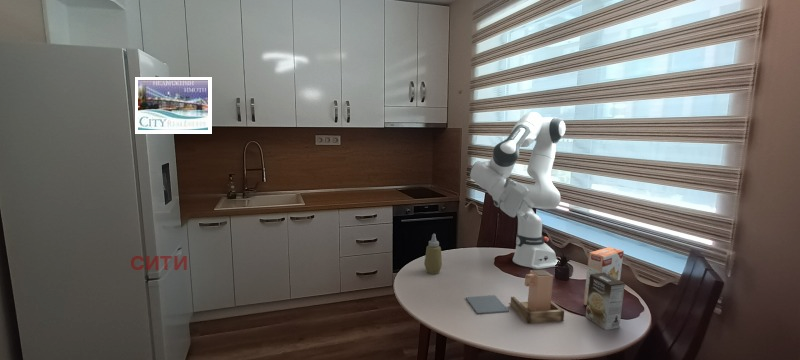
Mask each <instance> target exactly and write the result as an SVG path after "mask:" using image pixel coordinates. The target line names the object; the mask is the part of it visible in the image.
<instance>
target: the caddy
mask: <svg viewBox="0 0 800 360" xmlns="http://www.w3.org/2000/svg"><path fill="white" fill-rule="evenodd" d="M508 305H509V306H510V307H511V308H513V310H514V311H515V312H516V313H517V314H518V315H519V316H520V317H521V318H522V319H523V321H525V322H526V323H527V324H535V323H537V324H539V323H549V322H563V321H564V319H565V310H564V309H562V308H561V307H560V306H559V305H558V304H556V303H555V302H554V301H553V300H551V308H550V310H547V311H534V312H531V311H530V310H529V309H528V308H527V307H528V301H523V302H522V301H521V302H520V301H519V300H518V299H517V298H516V297H515V296H511V297H510V302H509V303H508Z"/></svg>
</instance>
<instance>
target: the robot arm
mask: <svg viewBox="0 0 800 360" xmlns="http://www.w3.org/2000/svg"><path fill="white" fill-rule="evenodd" d="M565 133H566V122H565V121H564V119H563V118H561V117H542V115H541V114H540V113H538V112H535V111H529V112H526V113H525V114H524V115H523V116H521V118H520V119H519V120H517V122H516V124H515V125H514V126H513V128H512V129H511V132H510V134H509V135H508V137H507V138H506V139H504V140H503V141H501V142H499V143H497V144H496V145H495V146H494V148H493V152H492V156H491V158H490V160H487V161H479V160H476V162H475V163H474V164H473V165H472V167H471V168H470V172H469V176H470V179H471V180H472V181H473V182H474V183H476V184H477V185H478V186H479V187H480V188H481V189H483V190H486V192H488V195H489V196H491V197H492V200H493V205H494V206H495V207H497V208H500V210H501V211H502V212H504V213H505V214H506V215H508V216H509V217H511V218H515V217H516V216H517V232H516V240H515V244H516V245H515V246H516V247H515V251H514V255H513V257H512V262H513V263H514V264H516V265H519V266H521V267H527V268H531V269H533V270H543V269H546V268H547V269H548V268H554V267H556V266H555V265H556V264H557V262H558V261H559V260H558V259H557V256H556V252H555V250H554V249H552V248H551V246H549V245H548V244H547V243H545V242H549V240H550V239H549V237H547V236H544V235H543V234H542V233H543V220H542V218H541V217H540V216H539V215H538V214H536V213H535V211H534V210H533V208H535V209H542V210H552V209H553V210H554V209H556V208H557V207H558V206H559V205H560V203H561V199H562V197H561V193H560V191H559V190H558V189H557V187H556V186H555V185H554V184H553V181H552V171H553V166H554V162H555V158H556V150H557V149H556V147H557V146H556V144H558V143H559V142H560V140H561V139H562V138H563V137H564V135H565ZM534 142H535V144H534V146H533V148H532V151H531V154H530V157H529V161H528V165H527V168H526V172H527V175H528V176H529V177H530V178H532V179H533V180H534V181H535V183H533V184H532V183H524V182H518V181H516V180H512V179H511V178H510V176H511V173H512V172H513V169H514V167H515V164H516V162H517V160H518V158H519V156H520V148H528V147H529V146H531V144H532V143H534Z"/></svg>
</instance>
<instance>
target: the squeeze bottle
mask: <svg viewBox="0 0 800 360" xmlns="http://www.w3.org/2000/svg"><path fill="white" fill-rule="evenodd" d="M425 250H426V251H425V256H424V267H425V271H426V273H427V274H430V275H437V274H439V273H440V271H441V269H442V267H443V259H442V248H441V246H440V242H439V240H437V236H436V233H432V235H431V240H429V241H428V245H427V246H426V249H425Z"/></svg>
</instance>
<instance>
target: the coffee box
mask: <svg viewBox="0 0 800 360" xmlns="http://www.w3.org/2000/svg"><path fill="white" fill-rule="evenodd" d="M625 287H626V286H625V282H624V281H623V280H622V281H621V279H620V280H618V279H616V278H614V277H612V276H610V275H608V274H606V273H604V272H603V273H595V274H590V280H589V290H588V299H587V306H586V311H585V318H587V319H588V318H589V319H588V320H590V321H591V320H592V321H591V322H593V323H594V324H596V325H597V326H599V327H600V328H602V329H604V331H608V330H612V329H613V330H614V329H618V328H620V325H621V317H622V311H623V310H622V309H623V302H624V301H623V300H624V293H625Z"/></svg>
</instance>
